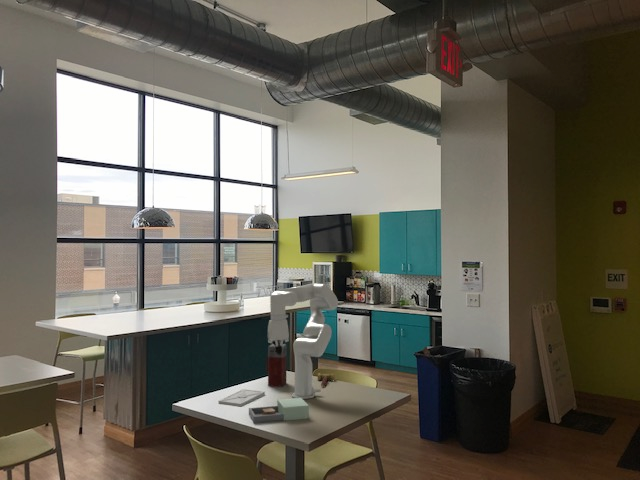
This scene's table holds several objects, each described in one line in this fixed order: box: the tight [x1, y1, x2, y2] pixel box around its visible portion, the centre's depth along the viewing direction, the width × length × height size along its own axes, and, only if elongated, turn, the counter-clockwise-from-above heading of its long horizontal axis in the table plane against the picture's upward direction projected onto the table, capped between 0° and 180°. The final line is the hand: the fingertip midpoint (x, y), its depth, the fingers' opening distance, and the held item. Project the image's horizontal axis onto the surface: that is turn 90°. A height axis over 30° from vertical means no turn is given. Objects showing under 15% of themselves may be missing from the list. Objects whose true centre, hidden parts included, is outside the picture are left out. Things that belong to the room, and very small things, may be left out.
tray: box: [248, 405, 285, 424], centre depth 245 cm, size 14×14×3 cm
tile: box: [262, 408, 275, 415], centre depth 244 cm, size 5×5×3 cm
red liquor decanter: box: [265, 340, 288, 388], centre depth 309 cm, size 9×11×28 cm
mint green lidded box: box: [276, 397, 310, 422], centre depth 249 cm, size 12×14×6 cm
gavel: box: [317, 372, 335, 388], centre depth 311 cm, size 21×5×10 cm
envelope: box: [218, 388, 266, 407], centre depth 277 cm, size 24×2×14 cm
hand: (278, 353), depth 263 cm, fingers closed
